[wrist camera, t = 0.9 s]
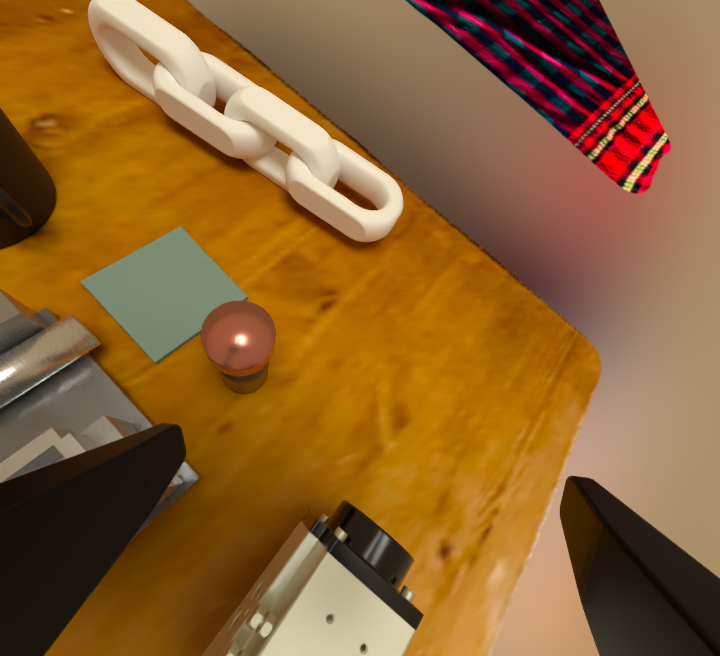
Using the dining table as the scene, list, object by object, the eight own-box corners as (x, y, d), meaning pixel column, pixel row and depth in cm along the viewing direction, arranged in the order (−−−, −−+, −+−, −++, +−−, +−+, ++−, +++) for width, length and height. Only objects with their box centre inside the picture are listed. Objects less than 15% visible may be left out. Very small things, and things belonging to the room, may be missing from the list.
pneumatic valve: (367, 529, 24) (456, 589, 13) (244, 724, 19) (224, 1073, 8) (309, 477, 24) (349, 494, 13) (170, 656, 19) (57, 914, 8)
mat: (156, 364, 24) (154, 362, 24) (82, 283, 25) (80, 281, 24) (247, 298, 28) (247, 296, 27) (181, 229, 28) (180, 226, 28)
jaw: (187, 485, 21) (161, 495, 16) (57, 604, 18) (-32, 670, 12) (127, 418, 21) (82, 405, 16) (-11, 523, 18) (-127, 552, 13)
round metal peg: (242, 406, 25) (234, 382, 17) (208, 370, 25) (184, 329, 17) (280, 373, 26) (289, 336, 18) (248, 339, 26) (243, 287, 18)
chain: (89, 78, 31) (51, -5, 25) (141, 49, 33) (117, -32, 28) (368, 264, 32) (391, 224, 26) (397, 222, 35) (423, 177, 29)
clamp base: (214, 464, 23) (203, 466, 18) (40, 626, 18) (-35, 684, 14) (70, 306, 24) (24, 269, 19) (-131, 420, 19) (-256, 409, 15)
